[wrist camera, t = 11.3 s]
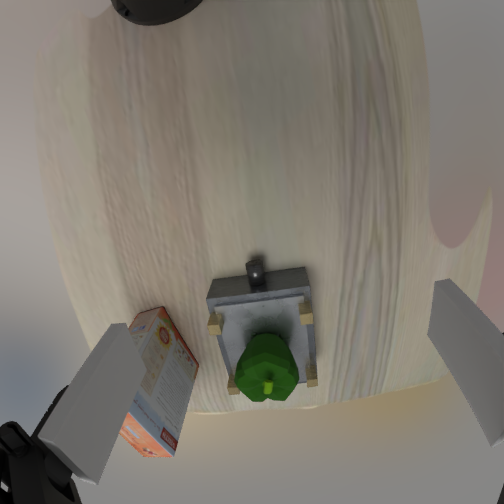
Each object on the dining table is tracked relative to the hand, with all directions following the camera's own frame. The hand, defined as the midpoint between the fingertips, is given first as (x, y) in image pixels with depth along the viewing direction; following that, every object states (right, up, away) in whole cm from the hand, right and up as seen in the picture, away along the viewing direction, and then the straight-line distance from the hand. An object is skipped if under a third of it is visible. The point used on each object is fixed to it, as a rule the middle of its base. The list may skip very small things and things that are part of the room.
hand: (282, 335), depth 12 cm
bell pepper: (+1, -10, +31) cm, 33 cm away
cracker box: (-16, -12, +40) cm, 45 cm away
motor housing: (+1, -7, +37) cm, 37 cm away
